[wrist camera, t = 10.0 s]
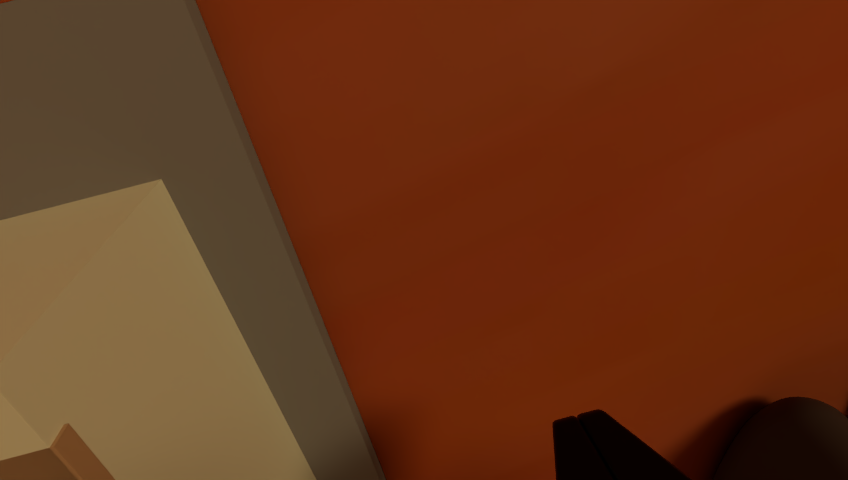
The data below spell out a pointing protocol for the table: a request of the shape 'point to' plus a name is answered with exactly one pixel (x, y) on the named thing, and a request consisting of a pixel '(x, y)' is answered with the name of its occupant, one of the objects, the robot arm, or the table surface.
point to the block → (127, 353)
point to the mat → (173, 182)
